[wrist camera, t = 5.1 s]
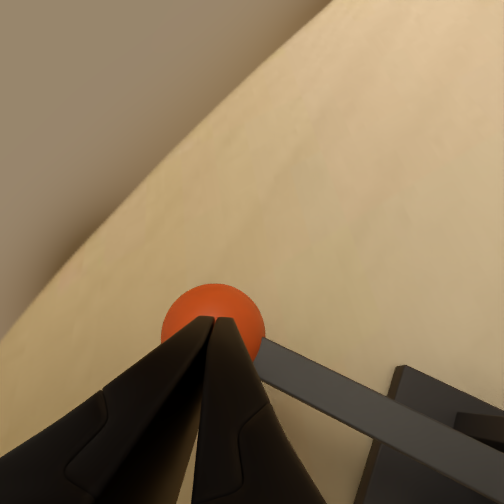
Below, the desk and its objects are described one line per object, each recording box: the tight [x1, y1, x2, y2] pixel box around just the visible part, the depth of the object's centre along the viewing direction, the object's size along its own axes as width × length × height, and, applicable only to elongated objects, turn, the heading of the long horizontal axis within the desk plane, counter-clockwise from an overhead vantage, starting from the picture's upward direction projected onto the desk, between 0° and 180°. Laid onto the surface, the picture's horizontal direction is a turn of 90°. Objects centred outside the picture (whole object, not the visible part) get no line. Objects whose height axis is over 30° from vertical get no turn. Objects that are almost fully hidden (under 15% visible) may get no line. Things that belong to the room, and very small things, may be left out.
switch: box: [161, 284, 504, 504], centre depth 9 cm, size 16×3×3 cm, turn 64°
